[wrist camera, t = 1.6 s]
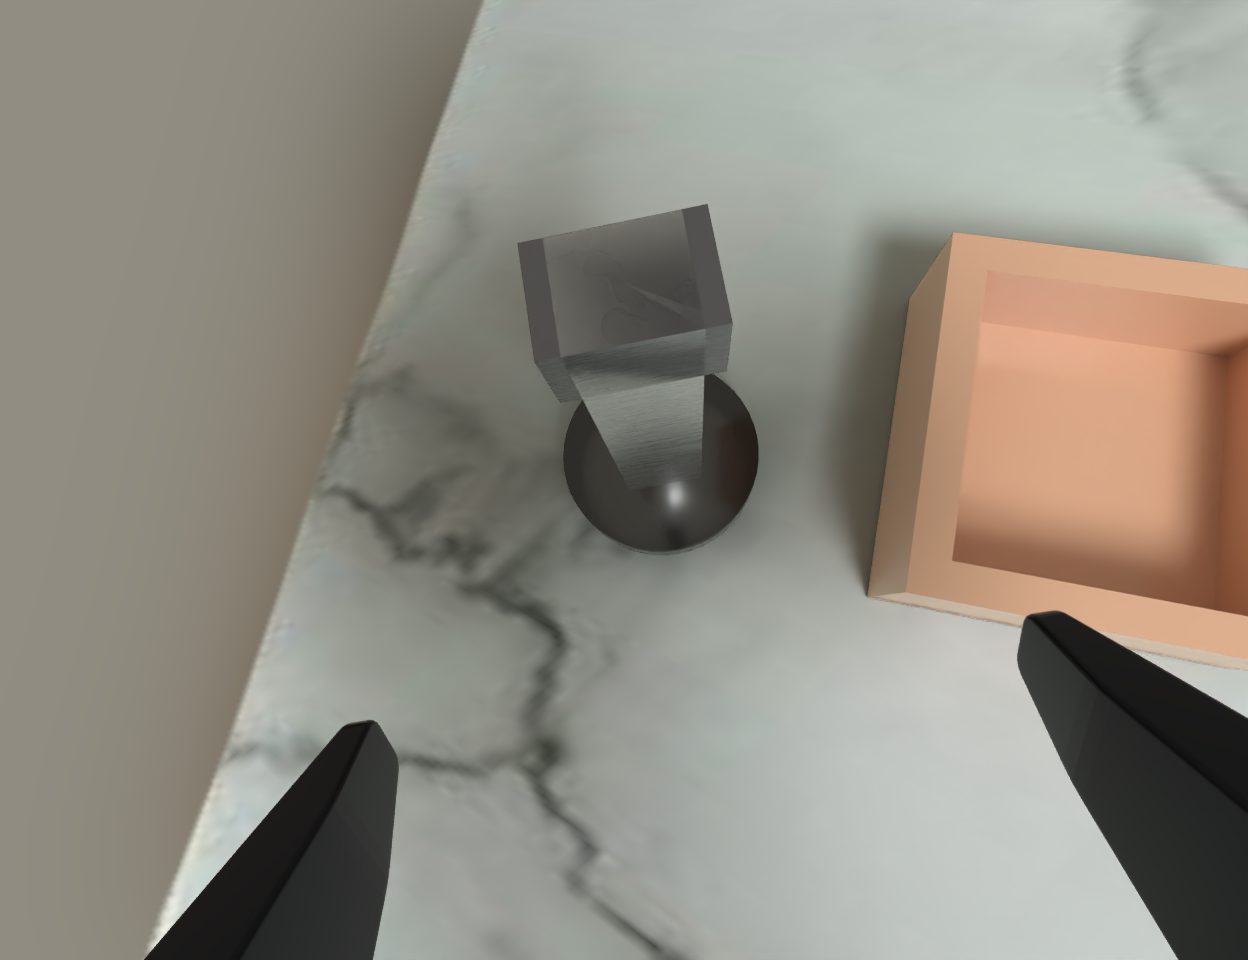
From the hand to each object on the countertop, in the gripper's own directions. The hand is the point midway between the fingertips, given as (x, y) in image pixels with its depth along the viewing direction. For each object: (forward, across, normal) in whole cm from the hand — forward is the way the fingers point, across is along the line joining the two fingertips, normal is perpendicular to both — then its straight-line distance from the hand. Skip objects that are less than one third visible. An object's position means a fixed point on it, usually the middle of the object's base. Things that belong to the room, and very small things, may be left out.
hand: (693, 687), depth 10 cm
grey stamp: (+13, 0, +4) cm, 14 cm away
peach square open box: (+11, -12, +6) cm, 17 cm away
